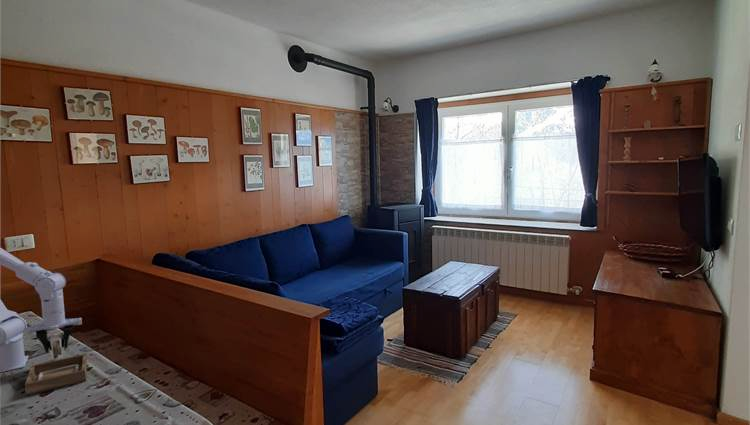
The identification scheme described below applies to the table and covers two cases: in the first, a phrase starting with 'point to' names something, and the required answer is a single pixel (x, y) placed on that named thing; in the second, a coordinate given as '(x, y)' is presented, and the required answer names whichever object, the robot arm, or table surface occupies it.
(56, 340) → the milkshake
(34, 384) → the socket box
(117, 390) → the table surface
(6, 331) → the robot arm
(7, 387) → the table surface
